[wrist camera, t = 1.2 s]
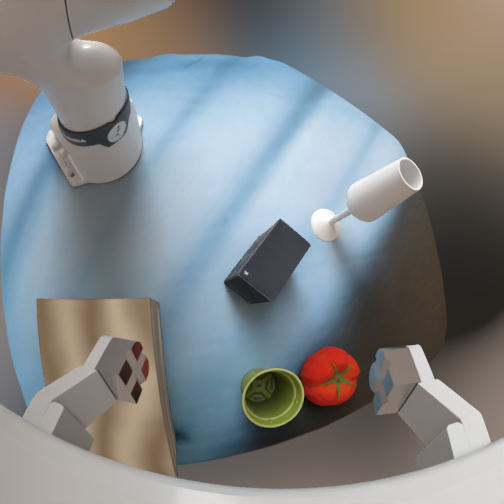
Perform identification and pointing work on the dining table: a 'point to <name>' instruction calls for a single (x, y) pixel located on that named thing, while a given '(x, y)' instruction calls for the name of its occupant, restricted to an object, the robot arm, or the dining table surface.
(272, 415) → the plant pot
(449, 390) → the robot arm
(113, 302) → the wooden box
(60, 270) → the dining table surface
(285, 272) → the small box
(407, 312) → the dining table surface
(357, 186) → the champagne flute
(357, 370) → the tomato
